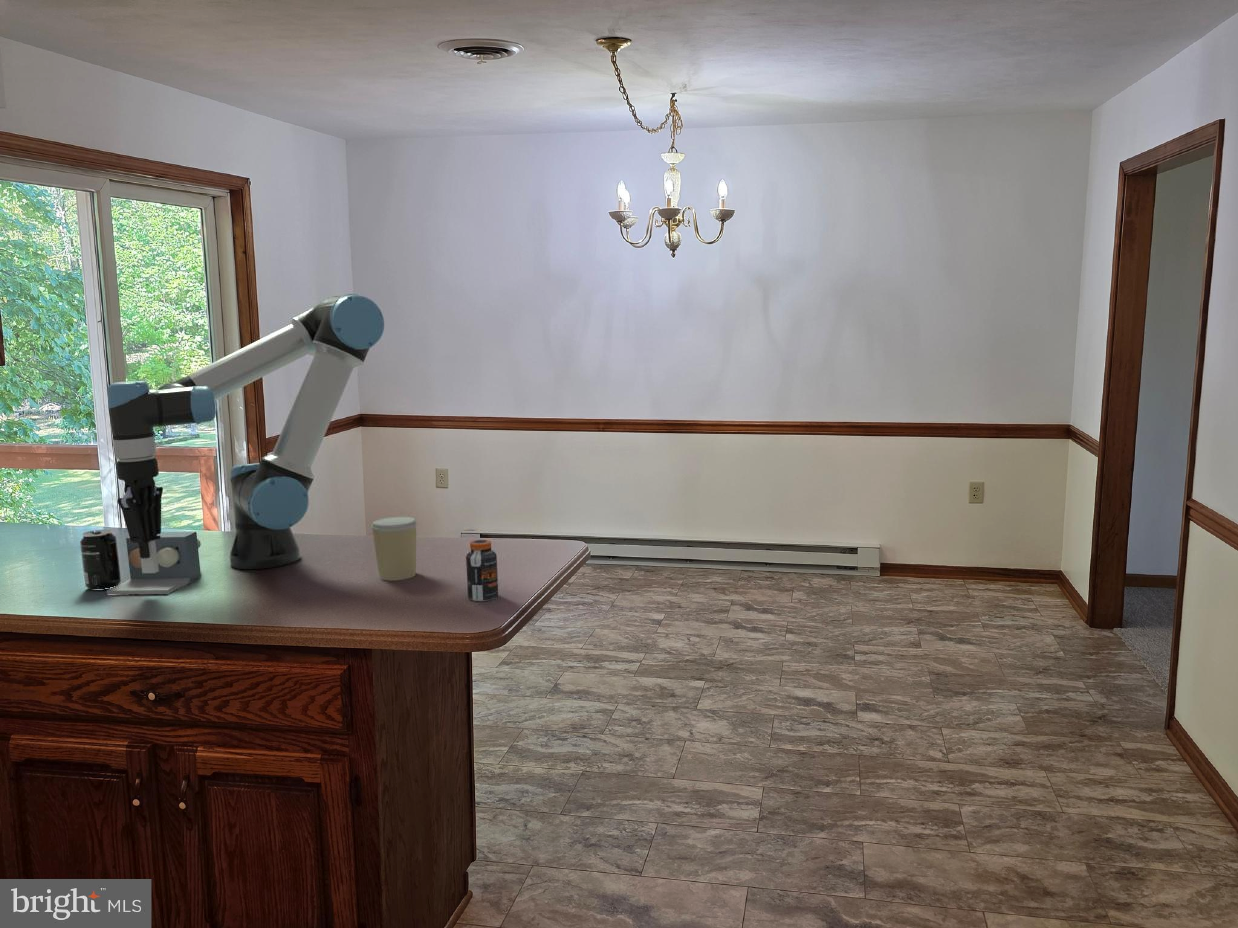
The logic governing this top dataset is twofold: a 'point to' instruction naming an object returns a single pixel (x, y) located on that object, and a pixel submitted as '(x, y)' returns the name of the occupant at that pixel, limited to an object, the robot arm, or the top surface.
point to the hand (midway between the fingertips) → (150, 571)
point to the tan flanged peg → (135, 558)
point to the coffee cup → (395, 547)
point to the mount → (166, 576)
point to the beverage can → (100, 559)
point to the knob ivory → (169, 556)
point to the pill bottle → (482, 571)
